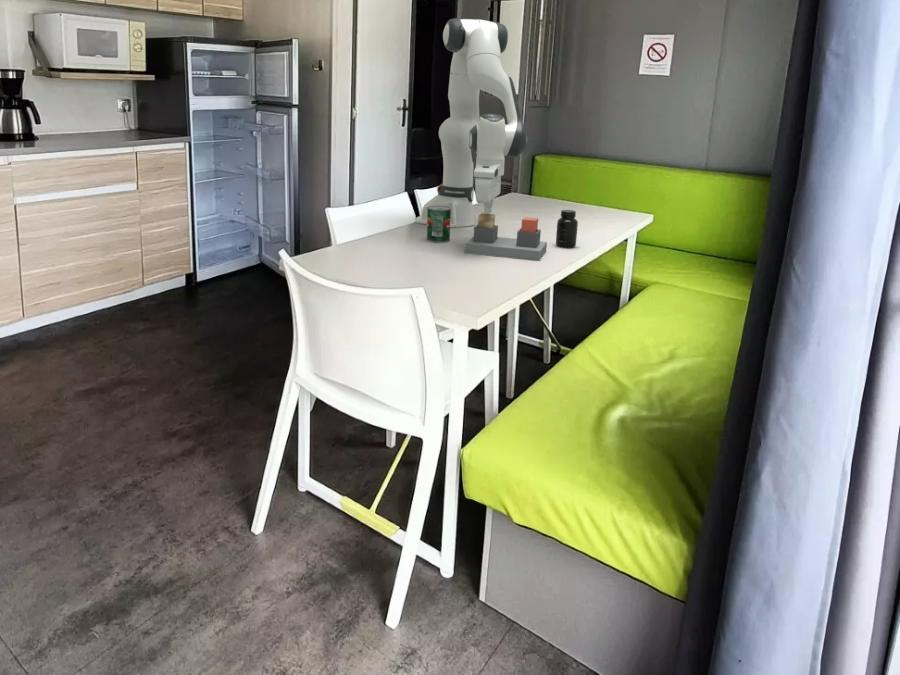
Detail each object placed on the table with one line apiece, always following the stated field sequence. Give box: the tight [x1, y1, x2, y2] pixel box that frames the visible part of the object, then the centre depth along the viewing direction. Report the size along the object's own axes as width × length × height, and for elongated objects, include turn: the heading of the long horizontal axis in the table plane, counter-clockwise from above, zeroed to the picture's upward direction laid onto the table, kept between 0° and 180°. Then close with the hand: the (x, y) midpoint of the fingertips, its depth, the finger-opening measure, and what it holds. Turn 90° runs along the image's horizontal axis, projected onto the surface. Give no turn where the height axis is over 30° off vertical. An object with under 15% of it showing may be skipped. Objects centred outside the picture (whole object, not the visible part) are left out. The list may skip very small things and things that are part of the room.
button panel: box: [464, 224, 548, 261], centre depth 230 cm, size 24×14×8 cm, turn 74°
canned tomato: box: [426, 206, 451, 243], centre depth 241 cm, size 8×8×11 cm
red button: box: [520, 217, 539, 233], centre depth 226 cm, size 4×4×4 cm
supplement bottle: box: [555, 209, 579, 249], centre depth 240 cm, size 7×7×12 cm
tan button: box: [477, 212, 496, 229], centre depth 229 cm, size 4×4×4 cm
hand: (487, 212), depth 228 cm, fingers closed
